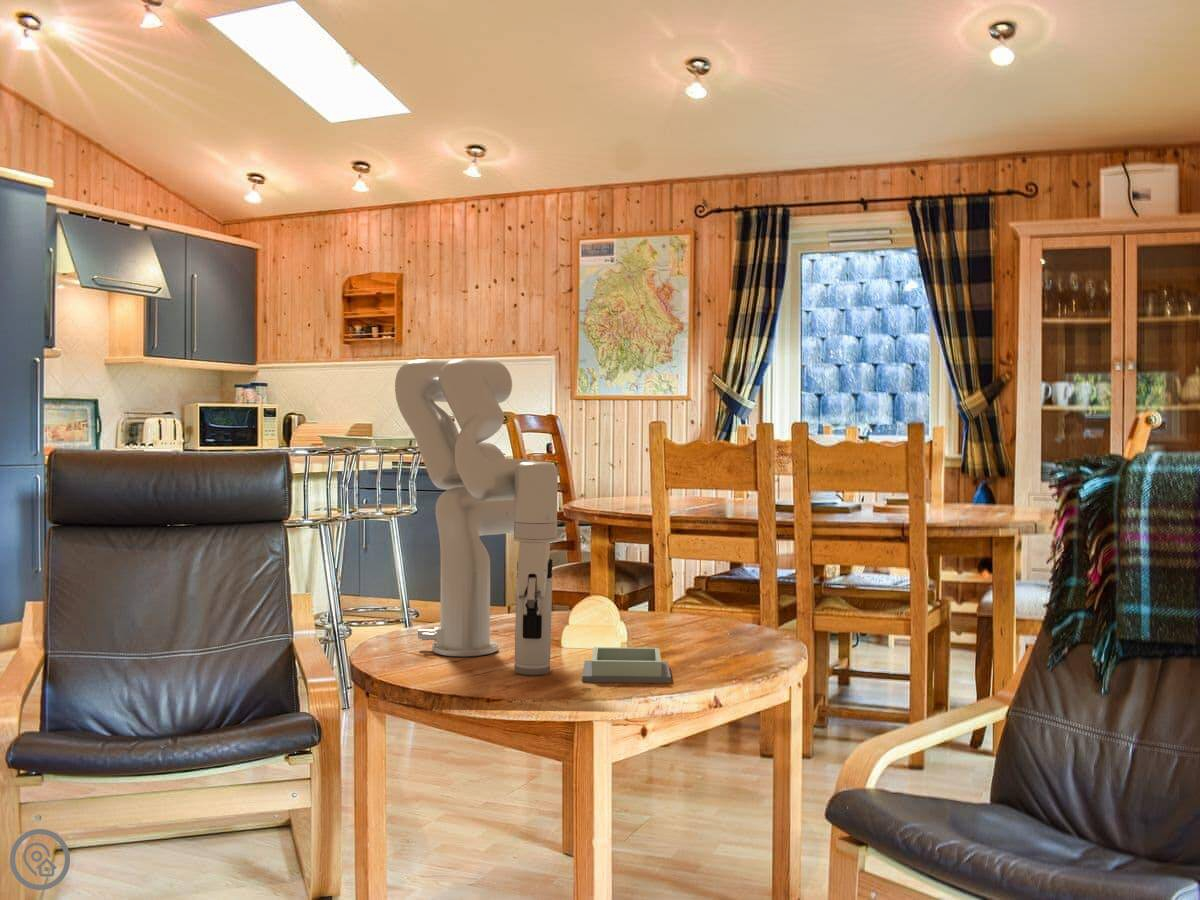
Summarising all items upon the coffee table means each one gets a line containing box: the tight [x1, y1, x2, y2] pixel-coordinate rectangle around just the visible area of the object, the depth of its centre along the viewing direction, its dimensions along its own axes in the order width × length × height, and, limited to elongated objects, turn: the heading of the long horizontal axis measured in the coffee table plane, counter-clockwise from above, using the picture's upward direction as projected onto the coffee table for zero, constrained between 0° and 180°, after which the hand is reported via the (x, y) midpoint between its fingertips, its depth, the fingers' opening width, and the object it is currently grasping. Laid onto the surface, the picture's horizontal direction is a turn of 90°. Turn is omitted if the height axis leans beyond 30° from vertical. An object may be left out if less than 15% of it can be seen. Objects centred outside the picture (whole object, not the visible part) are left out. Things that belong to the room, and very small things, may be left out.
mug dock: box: [581, 646, 672, 684], centre depth 187 cm, size 15×12×4 cm
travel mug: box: [514, 558, 553, 676], centre depth 188 cm, size 6×7×20 cm
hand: (533, 633), depth 188 cm, fingers closed on travel mug, 6 cm apart
